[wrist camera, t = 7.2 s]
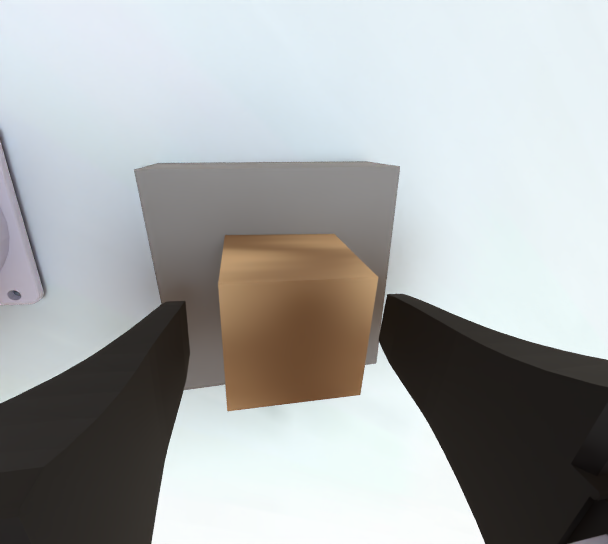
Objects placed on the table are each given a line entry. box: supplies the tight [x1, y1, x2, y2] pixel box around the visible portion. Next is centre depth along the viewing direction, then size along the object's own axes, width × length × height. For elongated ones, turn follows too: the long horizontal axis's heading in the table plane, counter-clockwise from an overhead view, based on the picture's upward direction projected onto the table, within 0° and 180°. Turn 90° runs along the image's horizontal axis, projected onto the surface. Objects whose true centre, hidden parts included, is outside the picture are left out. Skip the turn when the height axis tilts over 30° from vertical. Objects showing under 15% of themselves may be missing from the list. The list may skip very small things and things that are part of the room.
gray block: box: [134, 162, 400, 390], centre depth 15 cm, size 10×10×4 cm
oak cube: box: [218, 234, 378, 411], centre depth 11 cm, size 4×4×4 cm
